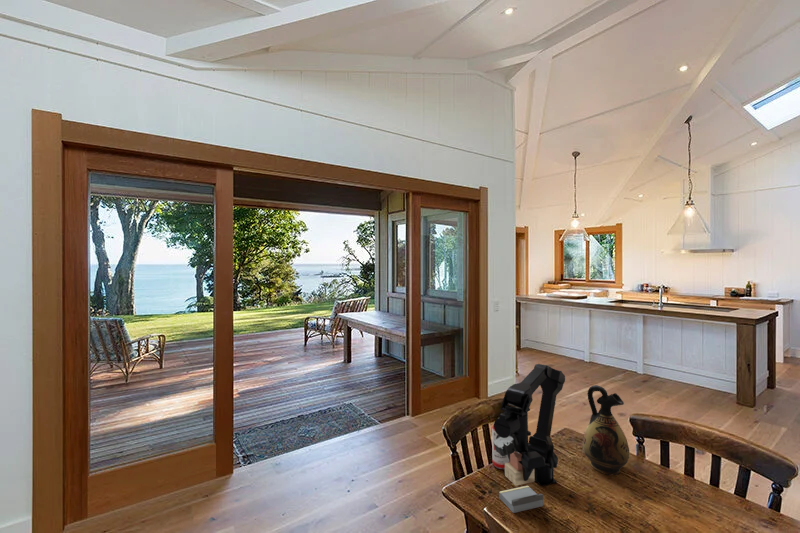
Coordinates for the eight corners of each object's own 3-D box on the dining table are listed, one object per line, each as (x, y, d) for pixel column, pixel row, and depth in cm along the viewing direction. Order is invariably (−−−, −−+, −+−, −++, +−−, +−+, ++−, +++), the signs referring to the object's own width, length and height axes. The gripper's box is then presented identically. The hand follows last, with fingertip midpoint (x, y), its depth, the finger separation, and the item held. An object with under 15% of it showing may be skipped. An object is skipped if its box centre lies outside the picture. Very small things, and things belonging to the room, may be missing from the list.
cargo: (520, 462, 122) (520, 450, 122) (528, 468, 118) (528, 455, 118) (510, 464, 120) (510, 451, 120) (517, 470, 117) (517, 457, 117)
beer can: (510, 470, 137) (509, 427, 137) (493, 469, 138) (492, 426, 138) (508, 462, 143) (508, 421, 143) (492, 460, 144) (491, 419, 144)
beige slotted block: (523, 471, 123) (522, 459, 123) (534, 481, 117) (534, 469, 117) (504, 475, 121) (504, 463, 121) (515, 485, 115) (515, 473, 115)
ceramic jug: (636, 468, 137) (634, 388, 137) (620, 484, 127) (619, 398, 127) (589, 451, 150) (587, 378, 150) (571, 465, 140) (570, 386, 140)
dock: (527, 491, 124) (527, 481, 124) (543, 505, 116) (543, 494, 116) (499, 497, 121) (498, 487, 121) (513, 513, 113) (513, 501, 113)
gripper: (482, 419, 126) (482, 465, 126) (514, 444, 108) (515, 497, 108) (510, 415, 129) (511, 459, 129) (545, 438, 111) (546, 490, 111)
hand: (519, 475), depth 119 cm, fingers closed on beige slotted block, 6 cm apart
